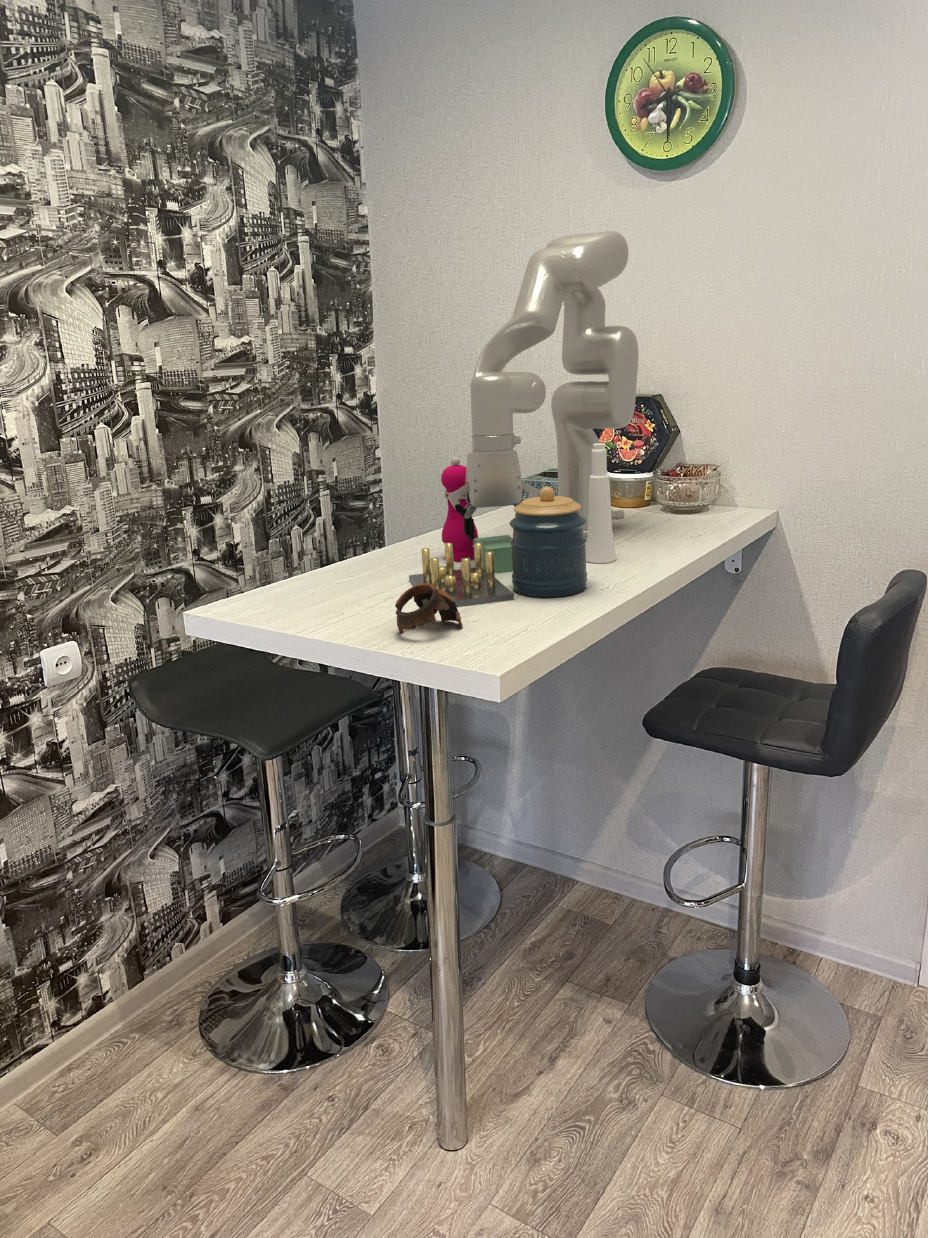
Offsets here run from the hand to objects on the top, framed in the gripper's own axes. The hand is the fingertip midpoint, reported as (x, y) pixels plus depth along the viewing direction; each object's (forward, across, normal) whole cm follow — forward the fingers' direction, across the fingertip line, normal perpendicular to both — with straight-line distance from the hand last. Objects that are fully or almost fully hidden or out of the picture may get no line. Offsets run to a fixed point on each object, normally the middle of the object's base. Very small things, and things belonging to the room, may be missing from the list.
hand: (495, 536), depth 176 cm
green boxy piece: (+6, -1, -1) cm, 6 cm away
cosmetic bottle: (+6, -20, +3) cm, 21 cm away
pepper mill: (+6, +4, -11) cm, 13 cm away
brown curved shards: (+7, +20, +32) cm, 38 cm away
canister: (+6, -4, +18) cm, 20 cm away
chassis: (+6, +10, +12) cm, 17 cm away
